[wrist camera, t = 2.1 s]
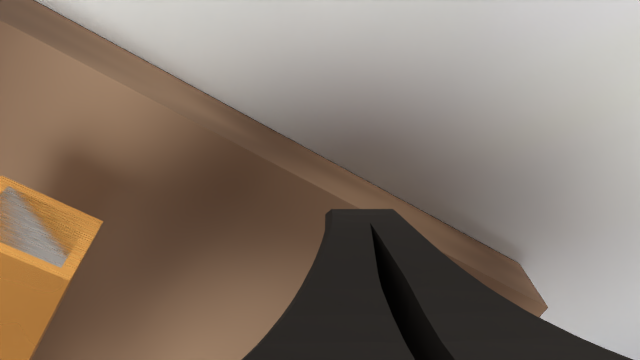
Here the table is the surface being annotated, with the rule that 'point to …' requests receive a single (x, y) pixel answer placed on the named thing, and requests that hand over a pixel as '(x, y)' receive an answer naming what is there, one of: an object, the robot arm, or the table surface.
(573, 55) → the table surface
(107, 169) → the bench block
